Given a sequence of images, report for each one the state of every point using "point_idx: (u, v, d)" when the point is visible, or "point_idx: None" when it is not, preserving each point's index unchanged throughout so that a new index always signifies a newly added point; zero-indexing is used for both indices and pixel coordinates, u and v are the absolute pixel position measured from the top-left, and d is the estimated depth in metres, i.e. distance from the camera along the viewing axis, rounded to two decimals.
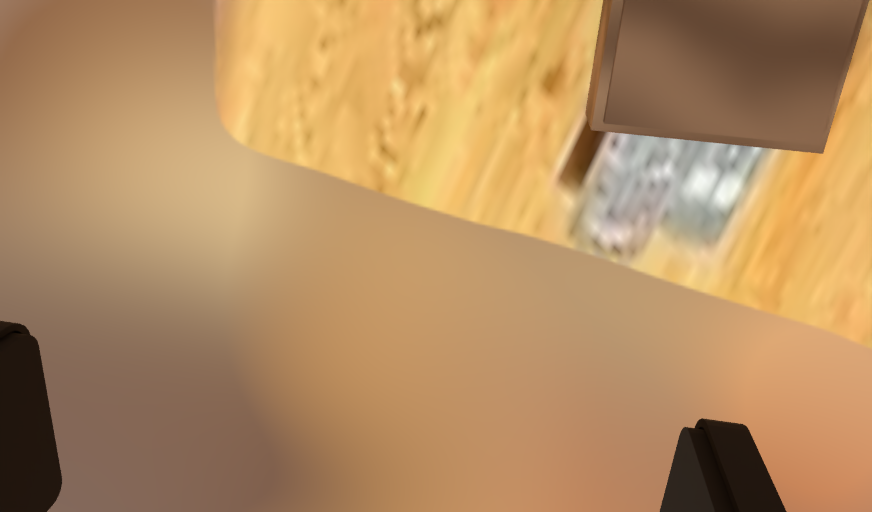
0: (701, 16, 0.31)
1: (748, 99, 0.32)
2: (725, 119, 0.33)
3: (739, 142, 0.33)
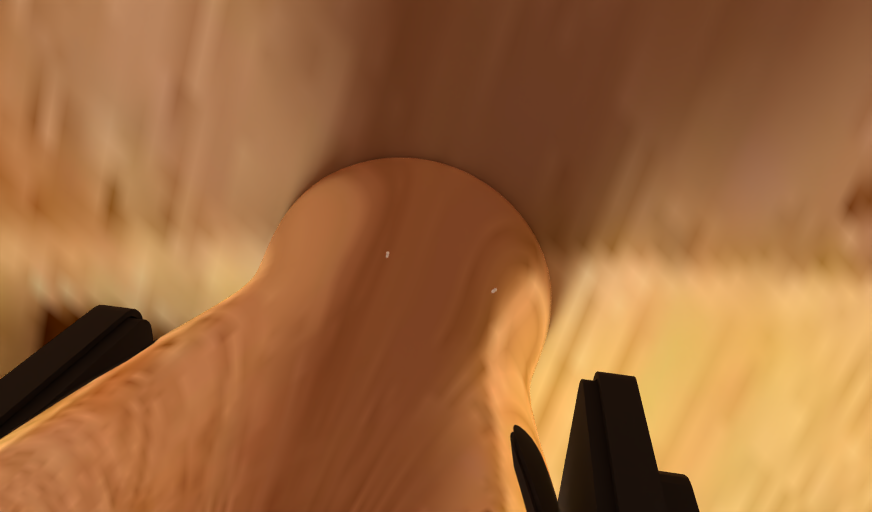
0: None
1: None
2: None
3: None
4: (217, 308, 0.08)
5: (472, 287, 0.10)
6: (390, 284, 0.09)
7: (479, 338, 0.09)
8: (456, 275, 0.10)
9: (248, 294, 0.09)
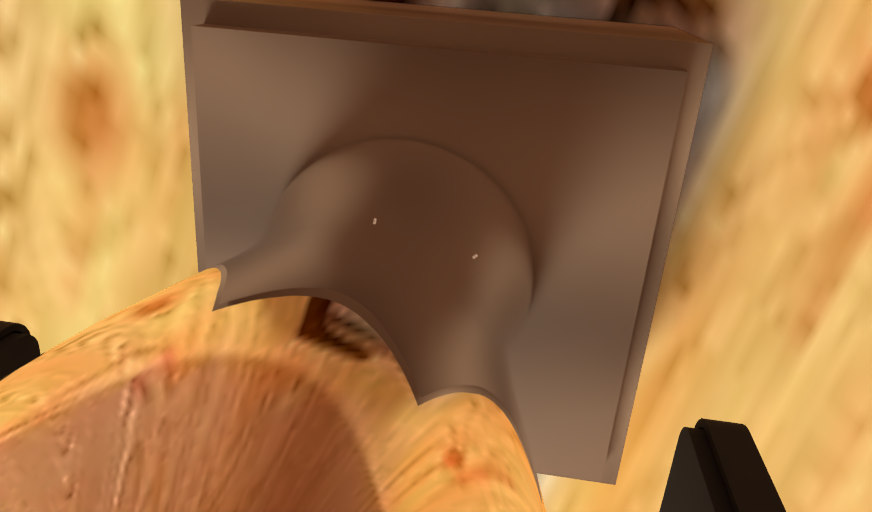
0: None
1: None
2: None
3: None
4: (218, 264, 0.09)
5: (453, 251, 0.11)
6: (376, 244, 0.10)
7: (457, 292, 0.10)
8: (439, 240, 0.11)
9: (246, 252, 0.09)
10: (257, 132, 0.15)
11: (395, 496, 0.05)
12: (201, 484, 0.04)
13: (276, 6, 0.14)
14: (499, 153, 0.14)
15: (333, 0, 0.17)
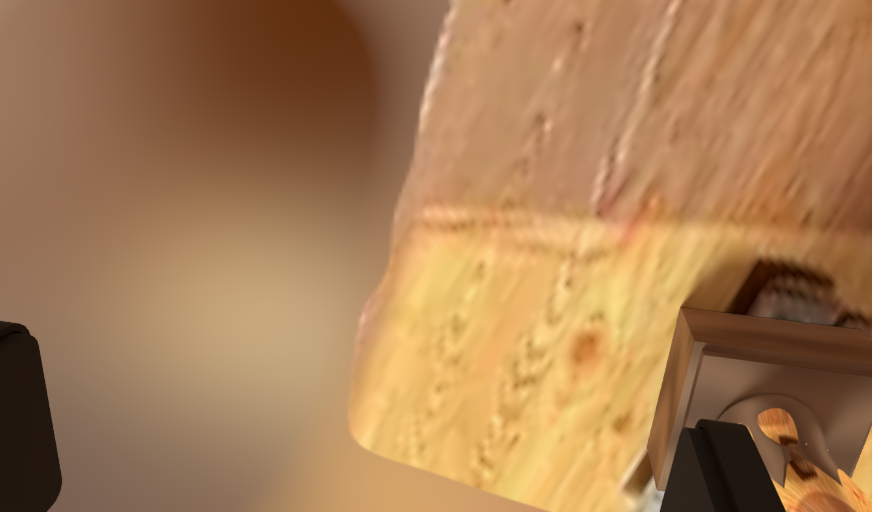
0: None
1: None
2: None
3: None
4: (787, 467, 0.34)
5: (826, 451, 0.37)
6: (820, 457, 0.35)
7: (843, 471, 0.35)
8: (822, 448, 0.37)
9: (790, 462, 0.35)
10: (719, 389, 0.40)
11: None
12: None
13: (732, 346, 0.40)
14: (813, 400, 0.40)
15: (725, 321, 0.43)
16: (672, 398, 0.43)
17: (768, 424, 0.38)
